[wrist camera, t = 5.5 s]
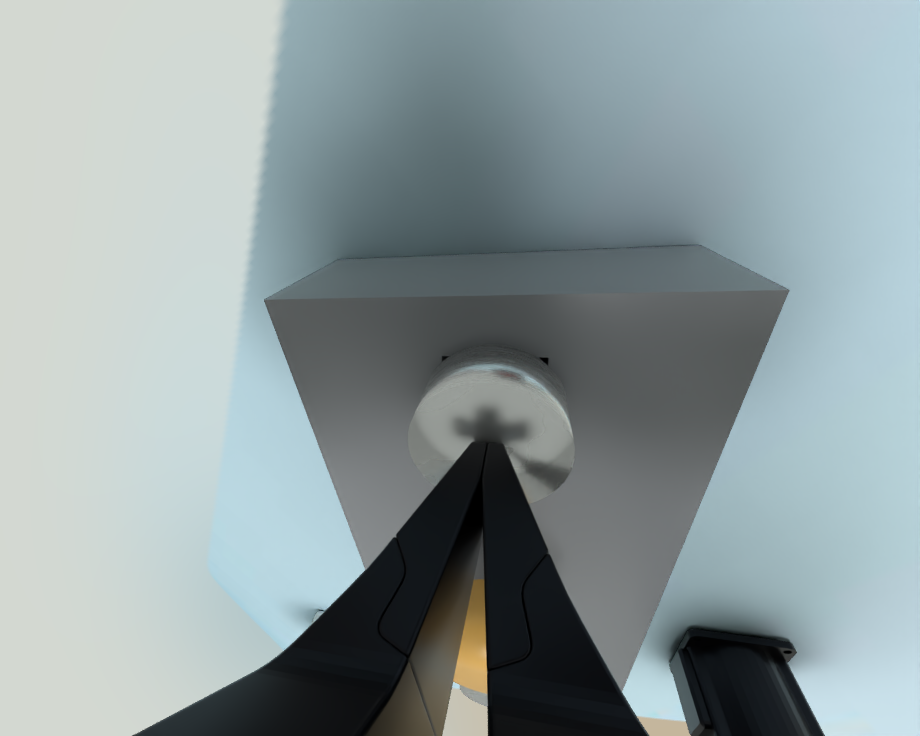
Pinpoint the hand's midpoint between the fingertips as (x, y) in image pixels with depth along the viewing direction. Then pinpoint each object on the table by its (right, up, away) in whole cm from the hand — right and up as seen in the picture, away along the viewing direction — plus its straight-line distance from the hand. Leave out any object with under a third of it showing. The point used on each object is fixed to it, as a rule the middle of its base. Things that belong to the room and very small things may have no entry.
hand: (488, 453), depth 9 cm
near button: (+1, +3, +4) cm, 5 cm away
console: (+2, -4, +11) cm, 12 cm away
